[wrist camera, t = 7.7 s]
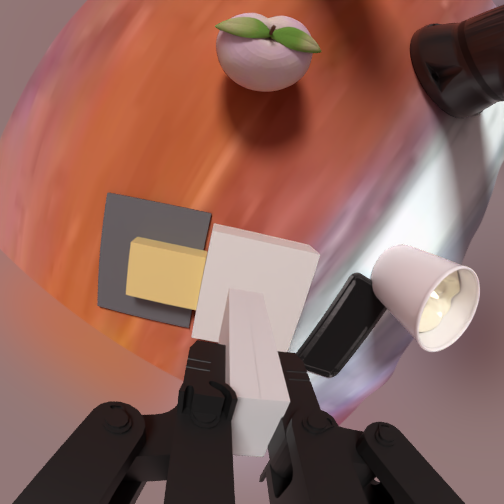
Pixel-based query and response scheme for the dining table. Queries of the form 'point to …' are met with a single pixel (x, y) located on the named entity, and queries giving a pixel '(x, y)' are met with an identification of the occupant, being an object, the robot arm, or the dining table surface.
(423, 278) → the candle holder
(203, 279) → the white stand
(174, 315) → the dark grey mat
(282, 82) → the decorative fruit
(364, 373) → the dining table surface
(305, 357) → the phone
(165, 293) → the ochre tile
